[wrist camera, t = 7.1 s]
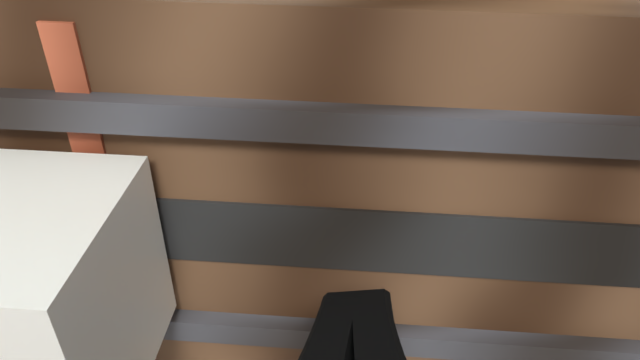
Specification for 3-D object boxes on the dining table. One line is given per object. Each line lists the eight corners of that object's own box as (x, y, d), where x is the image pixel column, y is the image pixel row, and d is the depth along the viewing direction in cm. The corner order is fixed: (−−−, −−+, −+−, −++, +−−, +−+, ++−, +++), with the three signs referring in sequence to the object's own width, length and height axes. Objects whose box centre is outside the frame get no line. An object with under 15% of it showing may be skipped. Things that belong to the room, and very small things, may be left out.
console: (797, -4, 12) (910, 43, 9) (621, 351, 19) (660, 434, 16) (-71, -32, 13) (-175, 3, 11) (57, 313, 20) (13, 385, 17)
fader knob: (147, 156, 13) (43, 315, 9) (176, 305, 15) (107, 479, 11) (-17, 147, 13) (-195, 298, 9) (41, 296, 16) (-74, 464, 12)
